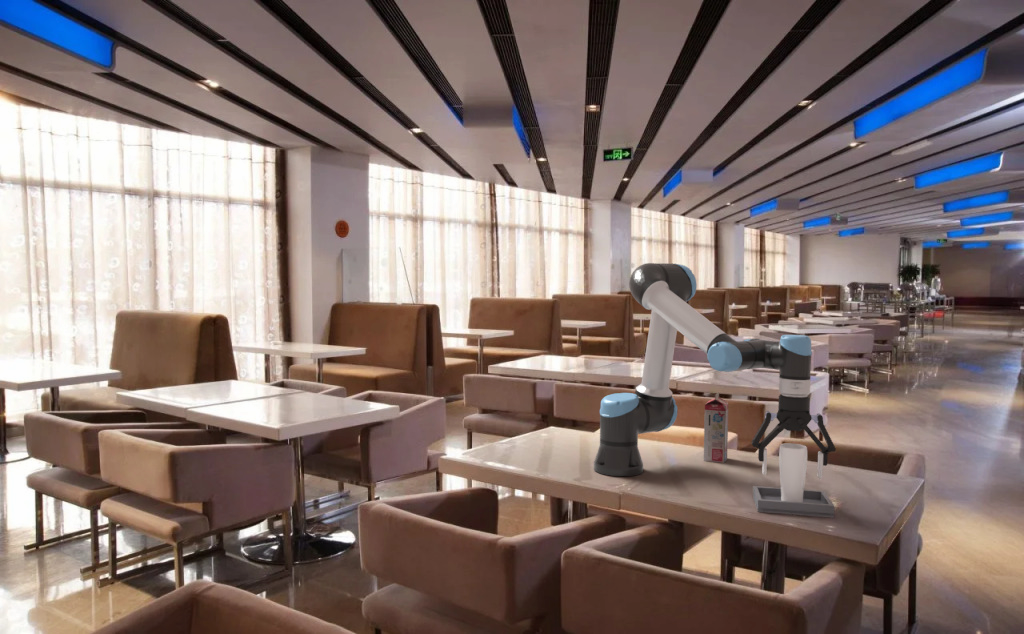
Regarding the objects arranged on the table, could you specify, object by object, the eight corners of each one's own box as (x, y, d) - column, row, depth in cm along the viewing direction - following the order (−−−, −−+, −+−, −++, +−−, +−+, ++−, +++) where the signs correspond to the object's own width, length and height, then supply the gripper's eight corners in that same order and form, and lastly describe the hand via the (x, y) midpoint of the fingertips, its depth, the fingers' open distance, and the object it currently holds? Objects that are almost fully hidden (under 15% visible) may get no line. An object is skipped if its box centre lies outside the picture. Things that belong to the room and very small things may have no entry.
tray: (757, 511, 178) (758, 500, 178) (752, 496, 191) (753, 485, 191) (834, 517, 174) (834, 505, 174) (823, 502, 187) (824, 490, 187)
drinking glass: (773, 499, 186) (774, 443, 185) (797, 498, 186) (799, 442, 185) (785, 507, 179) (787, 449, 178) (810, 506, 179) (812, 449, 179)
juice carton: (727, 458, 233) (728, 392, 232) (724, 462, 227) (726, 395, 226) (706, 456, 236) (708, 391, 235) (703, 460, 230) (705, 394, 229)
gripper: (745, 394, 181) (742, 475, 182) (850, 399, 175) (847, 483, 176) (742, 390, 188) (740, 468, 189) (843, 394, 182) (840, 475, 183)
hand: (791, 475), depth 182 cm, fingers open, 13 cm apart
